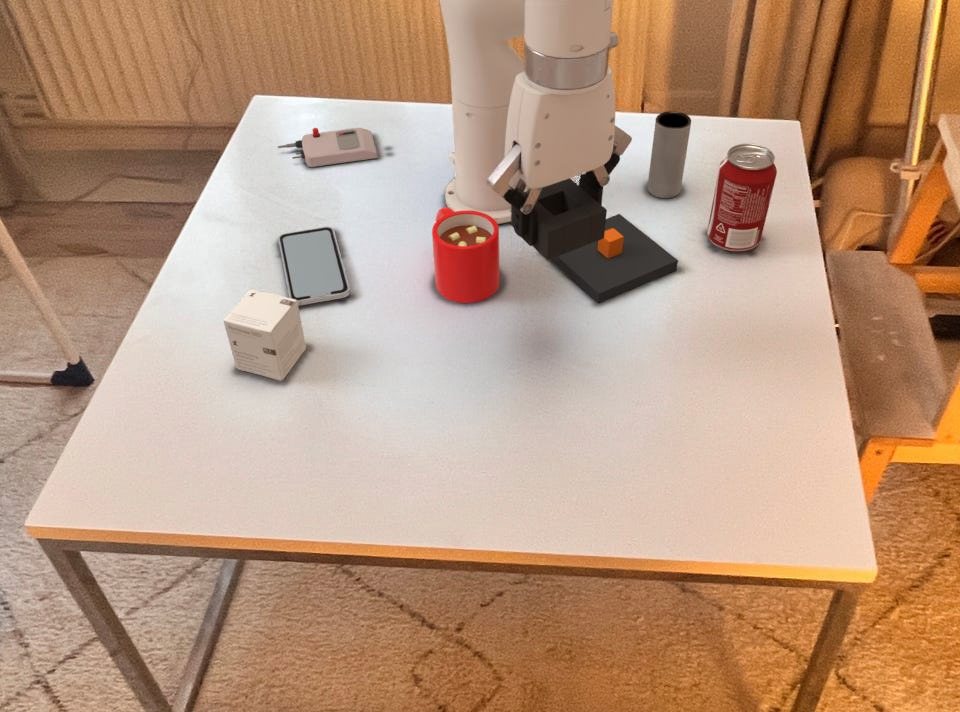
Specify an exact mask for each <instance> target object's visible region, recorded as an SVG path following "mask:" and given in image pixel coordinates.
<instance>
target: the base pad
mask: <svg viewBox="0 0 960 712" xmlns="http://www.w3.org/2000/svg"><path fill="white" fill-rule="evenodd" d="M549 261H551V262H552V263H553V264H554V265H555V266H556V267H557V268H558V269H560V271H562V272H563V273H564V274H565V275H566V276H567V277H568V278H569V279H571V280H572V281H573V282H574V283H575V285H577V286H579V287H580V289H582V290H583V291H584V292H585V293H586V294H587V295H589V297H590V298H591V299H593V300H594V301H595V302H596V303H597V304H600V303H602V302H604V301H607V300H610V299H612V298H614V297H616V296H619V295H621V294H623V293H625V292H628V291H631V290H633V289H635V288H637V287H640V286H642V285H645V284H647V283H649V282H652V281H654V280H656V279H659V278H661V277H664V276H666V275H669V274H670V273H673V272H675V271H677V270H678V264H679V260H678V259H677V258H676V257H675V256H674V255H672V254H671V253H669V252H668V251H667V250H666V249H665V248H664V247H662V246H661V245H660V244H658V243H657V242H656V241H655V240H653V239H652V238H651V237H650V236H648V235H647V234H646V233H644V232H643V231H642V230H641V229H639V228H638V227H637V226H636V225H634V224H633V223H632V222H631V221H630V220H628V219H627V218H626V217H624V216H623V215H622V214H621V213H618V214H615V215H613V216H610V217H606V224H605V234H604V239H601V240H598V241H596V242H593V243H591V244H589V245H586V246H583V247H581V248H578V249H576V250H573V251H570V252H568V253H565V254H563V255H560V256H558V257H555V258H552V259H550V260H549Z"/></svg>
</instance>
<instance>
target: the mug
mask: <svg viewBox="0 0 960 712" xmlns="http://www.w3.org/2000/svg"><path fill="white" fill-rule="evenodd" d="M436 213H437V214H436V216H435V222H434V223H433V226H432V229H431V238H432V250H433V252H432V253H433V262H434V263H433V265H434V277H435V286H436V290H437V292H438V293H439V294H440V295H441V296H442V297H444V298H445V299H447V300H449V301H451V302H456V303H461V304H473V303H478V302H482V301H485V300H487V299H489V298H491V297H492V296H494V294H496V292H498V290H499V288H500V283H501V282H500V281H501V280H500V276H501V275H500V227H499V224H497V222H496V221H495V220H494V219H493V218H492V217H491V216H489V215H487V214H485V213H482V212H478V211H470V210H464V211H456V212H455V211H454V210H452V209H451V208H449V207H448V206H445V207H443V206H442V207H441V208H440V209H439V210H438V211H437V212H436Z"/></svg>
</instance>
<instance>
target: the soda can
mask: <svg viewBox="0 0 960 712" xmlns="http://www.w3.org/2000/svg"><path fill="white" fill-rule="evenodd" d="M775 159H776V157H775V154H774V152H773V151H772V150H771V149H769V148H767V147H766V146H763V145H761V144H756V143H740V144H736V145H733V146H732V147H730V148H729V149H728V151H727V154H726V157H724V158H723V159H722V161H721V162H720V163H719V167H718V173H717V176H716V177H717V178H716V183H715V187H714V192H713V193H714V194H713V199H712V203H711V208H710V209H711V210H710V215H709V220H708V225H707V230H706V236H707V238H708V240H709V241H710V242H711V244H712V245H714V246H716V247H717V248H720V249H722V250H725V251H729V252H745V251H749V250H753V249H754V248H756V247H757V246H758V245H760V243H761V239H762V236H763V232H764V228H765V224H766V219H767V217H768V212H769V208H770V203H771V199H772V195H773V190H774V187H775V183H776V179H777V174H778V173H777V172H778V170H777V167H776V164H775Z"/></svg>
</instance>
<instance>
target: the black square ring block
mask: <svg viewBox="0 0 960 712" xmlns="http://www.w3.org/2000/svg"><path fill="white" fill-rule="evenodd" d="M526 192H527V191H526ZM526 192H524V193H523V194H522V195H524V196H525V195H526ZM533 208H534V209H535V210H536V211H537V213H538V221H537V239H536V244H535V245H533V246H532V248H533V249H535V250H536V251H537V252H538V253H539V254H540V255H541V257H543V258H544V259H545V260H546V261H551V260H550V259H552V258H555V257H558V256H560V255H563V254H565V253H568V252H570V251H573V250H576V249H578V248H581V247H583V246H586V245H589V244H591V243H593V242H596V241H598V240H601V239H604V234H605V224H606V219H607V213H608V210H607V209H606V208H605V207H604V206H603V204H602V205H601V204H599V203H598V202H597V201H596V200H595V199H594V198H592V197H591V196H590V195H589V194H588V193H587V192H585V191H584V190H583V189H582V188H581V187H580V186H579V184H577V182H575V181H574V180H573V179H572V178H569V179H566V180H563V181H560V182H558V183H555V184H552V185H549V186H546V187H543V188H542V190H541V192H540V194H539V196H538V199H537V201H536V203H535V205H534V207H533ZM513 225H514V206H513V205H511V222H510V226H511V227H512V228H513V229H514V226H513Z"/></svg>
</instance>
